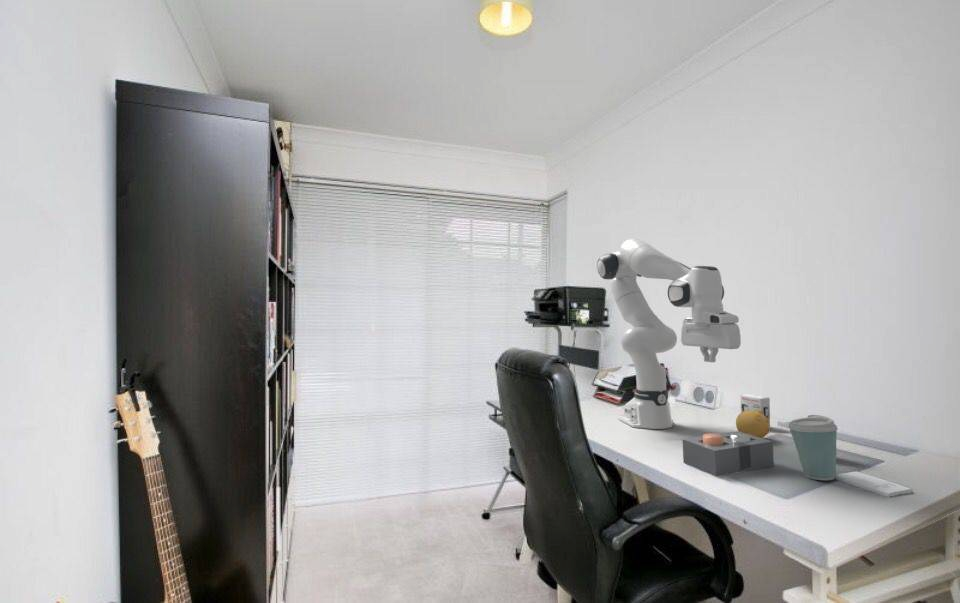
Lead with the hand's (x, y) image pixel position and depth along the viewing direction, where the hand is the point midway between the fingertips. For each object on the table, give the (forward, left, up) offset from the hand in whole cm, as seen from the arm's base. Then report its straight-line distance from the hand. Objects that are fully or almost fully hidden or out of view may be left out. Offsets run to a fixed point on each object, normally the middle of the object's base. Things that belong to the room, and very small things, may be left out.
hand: (709, 361), depth 139 cm
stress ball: (-8, +25, -29) cm, 39 cm away
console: (+7, -2, -29) cm, 30 cm away
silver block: (+7, +3, -28) cm, 29 cm away
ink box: (-19, +39, -29) cm, 52 cm away
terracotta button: (+7, -7, -27) cm, 29 cm away
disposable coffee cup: (+24, +11, -29) cm, 39 cm away
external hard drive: (+32, +18, -30) cm, 47 cm away
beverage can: (+13, +27, -29) cm, 42 cm away
